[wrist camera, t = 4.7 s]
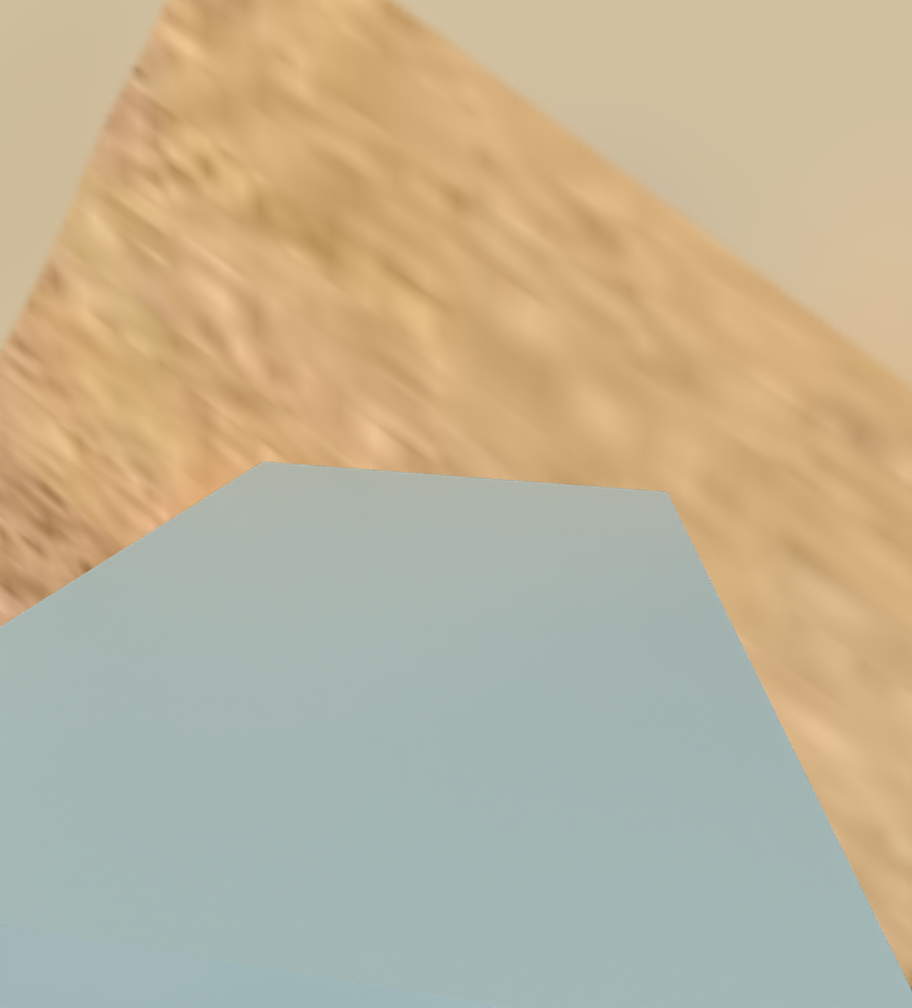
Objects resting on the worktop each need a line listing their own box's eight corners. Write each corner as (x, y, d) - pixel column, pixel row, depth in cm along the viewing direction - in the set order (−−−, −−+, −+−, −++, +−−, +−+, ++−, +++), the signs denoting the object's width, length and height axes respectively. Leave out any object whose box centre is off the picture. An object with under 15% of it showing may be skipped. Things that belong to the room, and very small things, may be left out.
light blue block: (666, 492, 11) (955, 1080, 3) (603, 957, 14) (663, 1885, 6) (262, 461, 12) (-376, 863, 4) (283, 908, 15) (-50, 1670, 7)
